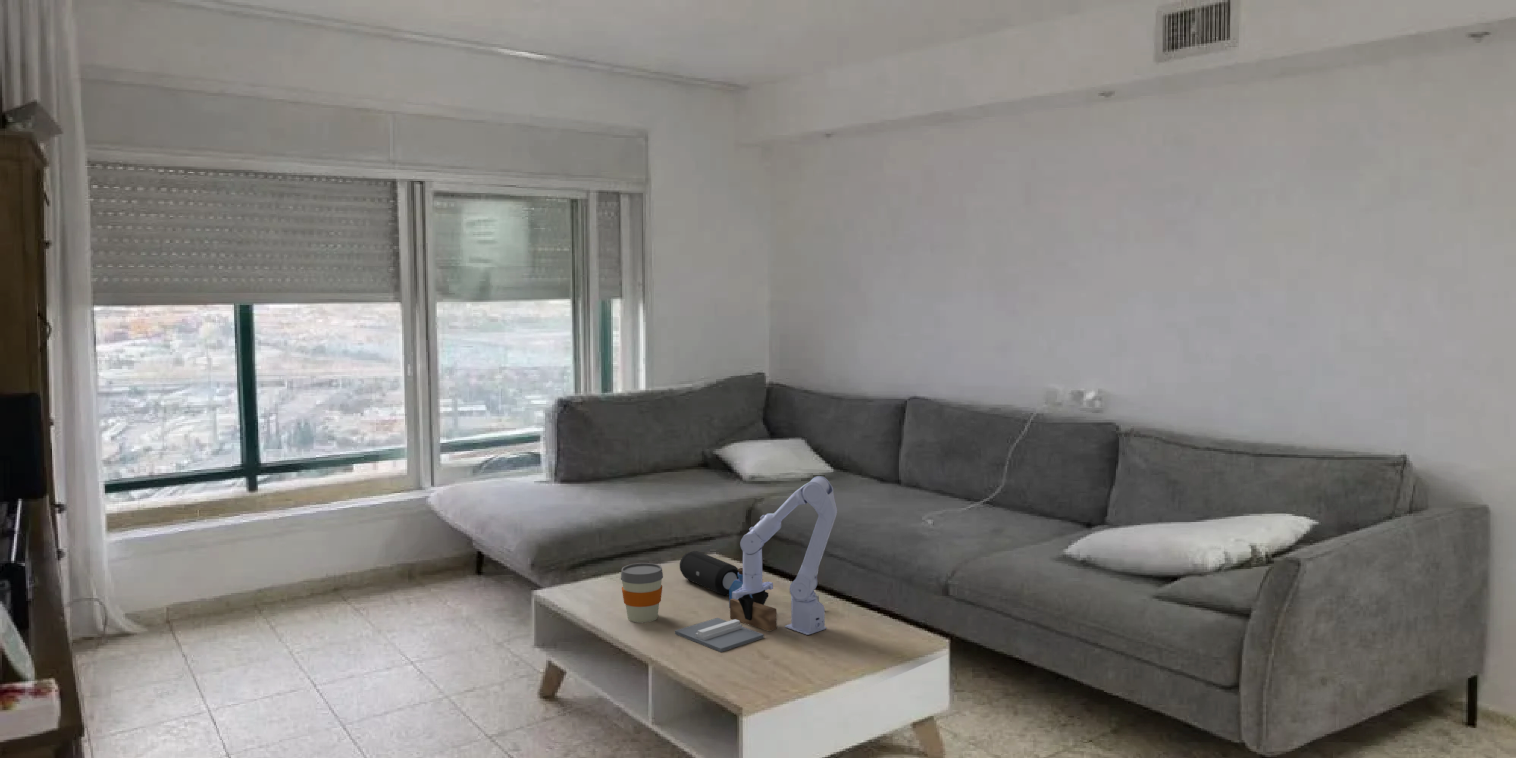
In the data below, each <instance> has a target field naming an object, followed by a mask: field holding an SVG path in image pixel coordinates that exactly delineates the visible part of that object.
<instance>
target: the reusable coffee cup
mask: <svg viewBox="0 0 1516 758" xmlns="http://www.w3.org/2000/svg"><path fill="white" fill-rule="evenodd" d="M663 573H664V572H663V567H662V566H661V565H660V564H657V563H650V562H649V563H648V562H638V563H637V562H636V563H630V564H627V565H625V566H622V568H621V572H620V580H621V583H622V586H621V593H622V600H623V603H624V604H625V609H626V615H627V620H629V621H630V622H633V623H640V624H641V623H649V622H650V623H651V622H653V621H655V620H657V619H658V618H659V617H658V616H659V608H660V607H659V606H660V603H661V601H662V596H663V595H662V593H663V585H662V579H663V578H664V574H663Z"/></svg>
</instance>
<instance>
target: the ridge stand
mask: <svg viewBox="0 0 1516 758" xmlns="http://www.w3.org/2000/svg"><path fill="white" fill-rule="evenodd" d="M674 634H675V635H676V636H678V637H681V638H684V639H687V640H689V641H692V642H694V643H696V644H699V645H701V646H705V647H707V648H709V649H712V650H715V651H716V652H718V653H719V652H720V653H722V652H725V651H728V650H732V649H735V648H737V647H741V646H744V645H746V644H750V643H753V642H756V641H758V640H762V639H764V638H765V634H764V633H761V632H758V631H755V630H752V629H751V628H747V627H745V626H743V624H741V622H740V621H739V620H736V619H734V620H732V619H730V620H725V619H722V618H720V617H714V618H713V619H708V620H706V621H702V622H699V623H696V624H692V625H689V626H685V627H682V628H678V629H675V630H674Z"/></svg>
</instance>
